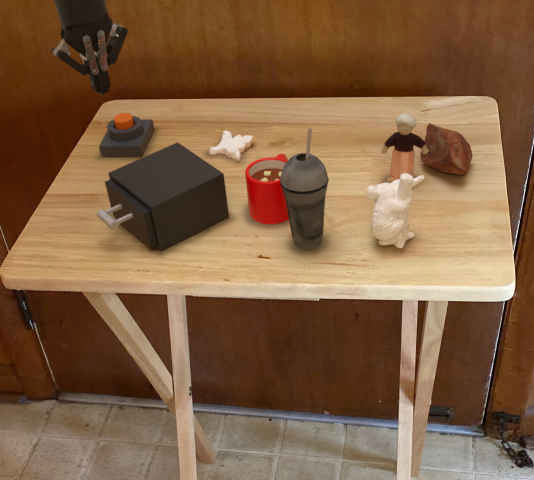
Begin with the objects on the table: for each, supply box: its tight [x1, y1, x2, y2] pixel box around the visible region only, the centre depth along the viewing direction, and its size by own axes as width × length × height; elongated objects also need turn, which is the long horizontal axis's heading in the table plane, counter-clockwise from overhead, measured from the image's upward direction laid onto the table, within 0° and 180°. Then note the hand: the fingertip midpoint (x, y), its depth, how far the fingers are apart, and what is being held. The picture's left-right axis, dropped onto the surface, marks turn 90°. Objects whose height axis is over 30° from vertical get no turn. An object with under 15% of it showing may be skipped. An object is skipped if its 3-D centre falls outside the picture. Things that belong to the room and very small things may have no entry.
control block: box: [98, 115, 155, 157], centre depth 155 cm, size 10×8×4 cm
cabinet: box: [107, 142, 230, 252], centre depth 134 cm, size 14×14×9 cm
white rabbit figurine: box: [365, 173, 425, 250], centre depth 124 cm, size 8×7×12 cm
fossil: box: [419, 122, 473, 176], centre depth 140 cm, size 13×8×10 cm
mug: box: [244, 153, 289, 225], centre depth 135 cm, size 8×12×8 cm, turn 164°
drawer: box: [96, 178, 158, 249], centre depth 133 cm, size 17×12×7 cm
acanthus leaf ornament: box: [208, 130, 254, 162], centre depth 151 cm, size 8×7×2 cm
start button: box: [113, 112, 134, 130], centre depth 154 cm, size 4×4×2 cm
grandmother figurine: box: [380, 112, 428, 183], centre depth 135 cm, size 8×4×13 cm, turn 89°
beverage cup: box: [280, 127, 330, 252], centre depth 122 cm, size 7×7×20 cm
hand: (102, 92), depth 134 cm, fingers closed
